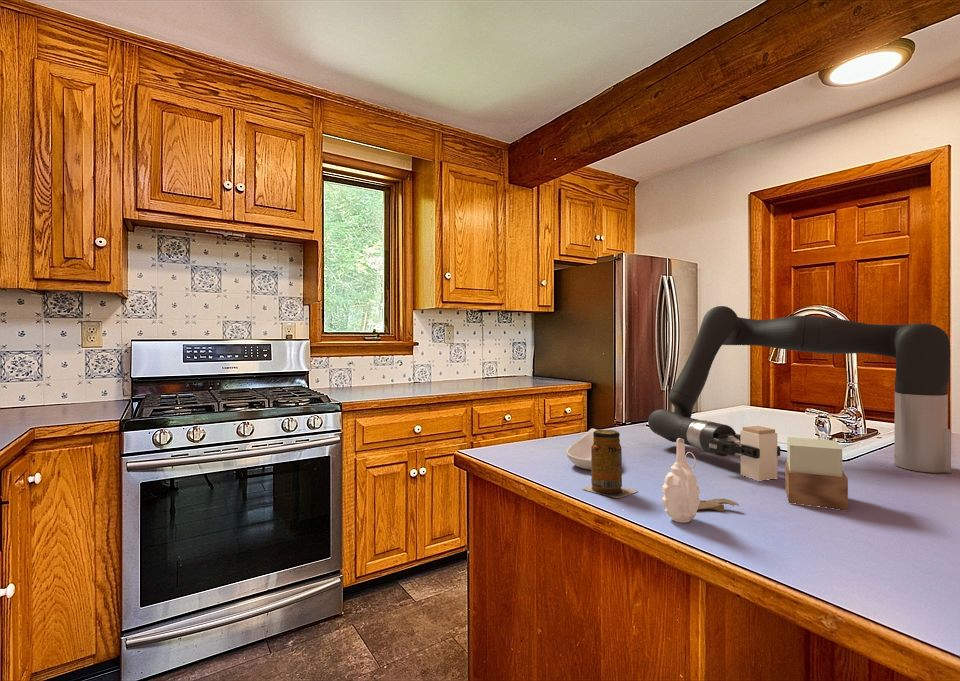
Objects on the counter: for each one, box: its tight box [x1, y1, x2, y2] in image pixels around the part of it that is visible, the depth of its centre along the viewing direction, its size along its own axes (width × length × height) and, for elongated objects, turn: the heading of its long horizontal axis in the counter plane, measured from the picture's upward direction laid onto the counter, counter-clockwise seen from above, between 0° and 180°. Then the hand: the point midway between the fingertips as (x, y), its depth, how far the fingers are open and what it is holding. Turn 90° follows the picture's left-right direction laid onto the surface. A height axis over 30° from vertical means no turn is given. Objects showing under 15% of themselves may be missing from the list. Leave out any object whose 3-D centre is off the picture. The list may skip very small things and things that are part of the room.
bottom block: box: [784, 461, 849, 511], centre depth 96 cm, size 9×9×6 cm
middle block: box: [786, 436, 843, 477], centre depth 96 cm, size 8×8×5 cm
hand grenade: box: [661, 438, 701, 524], centre depth 86 cm, size 8×6×14 cm
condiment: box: [582, 429, 638, 499], centre depth 103 cm, size 7×8×12 cm
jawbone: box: [697, 498, 740, 513], centre depth 99 cm, size 9×20×2 cm, turn 15°
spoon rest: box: [565, 428, 605, 471], centre depth 127 cm, size 24×12×7 cm, turn 160°
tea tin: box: [740, 425, 779, 481], centre depth 111 cm, size 5×5×11 cm
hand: (768, 452), depth 108 cm, fingers closed on tea tin, 5 cm apart
